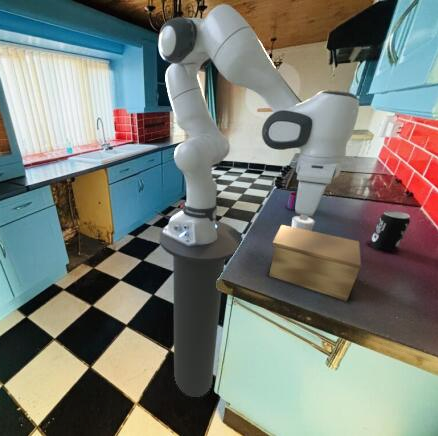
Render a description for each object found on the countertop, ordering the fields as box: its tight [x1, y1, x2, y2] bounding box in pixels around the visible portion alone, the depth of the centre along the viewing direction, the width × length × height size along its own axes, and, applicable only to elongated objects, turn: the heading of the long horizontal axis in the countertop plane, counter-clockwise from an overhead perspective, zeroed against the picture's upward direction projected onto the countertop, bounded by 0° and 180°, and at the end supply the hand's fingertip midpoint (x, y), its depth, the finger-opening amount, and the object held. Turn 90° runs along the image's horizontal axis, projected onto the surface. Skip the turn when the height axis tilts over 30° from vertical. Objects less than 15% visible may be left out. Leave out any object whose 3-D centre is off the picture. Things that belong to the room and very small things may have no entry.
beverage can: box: [369, 210, 411, 253], centre depth 75 cm, size 7×7×12 cm
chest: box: [269, 246, 361, 302], centre depth 65 cm, size 18×13×10 cm
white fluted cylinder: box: [291, 215, 316, 231], centre depth 85 cm, size 7×7×7 cm
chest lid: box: [271, 224, 362, 269], centre depth 63 cm, size 18×13×1 cm
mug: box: [286, 191, 297, 211], centre depth 107 cm, size 7×10×7 cm
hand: (303, 218), depth 63 cm, fingers closed
